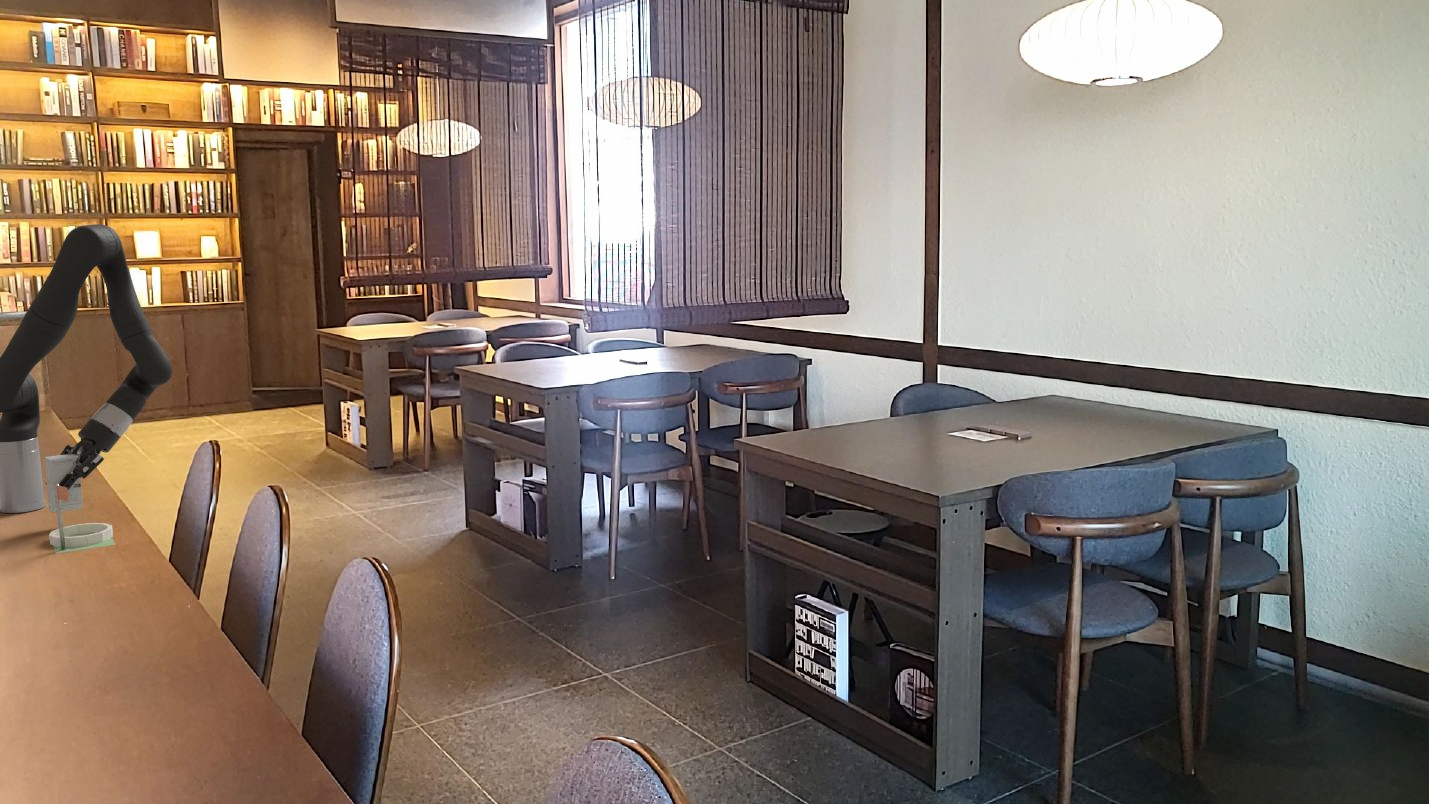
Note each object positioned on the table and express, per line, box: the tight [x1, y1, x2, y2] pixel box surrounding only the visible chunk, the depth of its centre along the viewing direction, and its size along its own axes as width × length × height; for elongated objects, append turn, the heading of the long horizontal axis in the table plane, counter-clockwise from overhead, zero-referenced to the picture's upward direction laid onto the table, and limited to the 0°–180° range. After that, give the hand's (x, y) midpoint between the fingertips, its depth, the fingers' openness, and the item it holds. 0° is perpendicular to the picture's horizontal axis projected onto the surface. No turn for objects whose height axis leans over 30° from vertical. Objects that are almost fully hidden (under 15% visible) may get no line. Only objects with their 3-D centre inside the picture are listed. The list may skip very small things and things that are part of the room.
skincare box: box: [44, 454, 83, 514], centre depth 247 cm, size 6×4×12 cm
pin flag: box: [54, 484, 69, 550], centre depth 228 cm, size 5×1×14 cm, turn 54°
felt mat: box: [52, 533, 116, 554], centre depth 238 cm, size 18×11×1 cm, turn 34°
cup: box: [48, 522, 114, 547], centre depth 238 cm, size 12×12×2 cm
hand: (55, 488), depth 246 cm, fingers closed on skincare box, 5 cm apart
